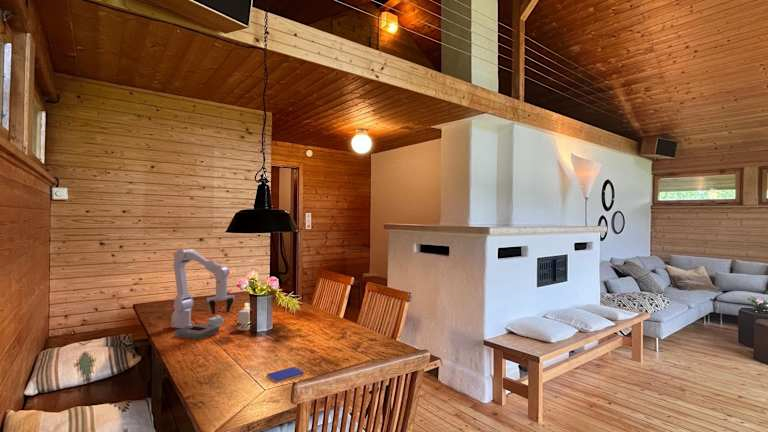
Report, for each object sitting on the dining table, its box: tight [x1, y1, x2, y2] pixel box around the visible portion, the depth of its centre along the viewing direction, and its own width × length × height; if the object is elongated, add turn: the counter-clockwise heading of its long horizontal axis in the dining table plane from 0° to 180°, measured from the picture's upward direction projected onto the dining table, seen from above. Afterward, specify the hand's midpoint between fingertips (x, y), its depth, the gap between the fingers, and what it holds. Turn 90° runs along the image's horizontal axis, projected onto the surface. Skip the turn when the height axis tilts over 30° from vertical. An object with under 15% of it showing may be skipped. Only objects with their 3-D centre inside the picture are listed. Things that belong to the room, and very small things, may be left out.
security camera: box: [236, 308, 251, 331], centre depth 223 cm, size 6×7×10 cm
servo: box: [204, 314, 226, 328], centre depth 226 cm, size 11×4×6 cm, turn 162°
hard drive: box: [266, 366, 305, 383], centre depth 159 cm, size 2×8×12 cm
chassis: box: [174, 323, 220, 341], centre depth 210 cm, size 16×14×3 cm
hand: (220, 313), depth 219 cm, fingers open, 7 cm apart
